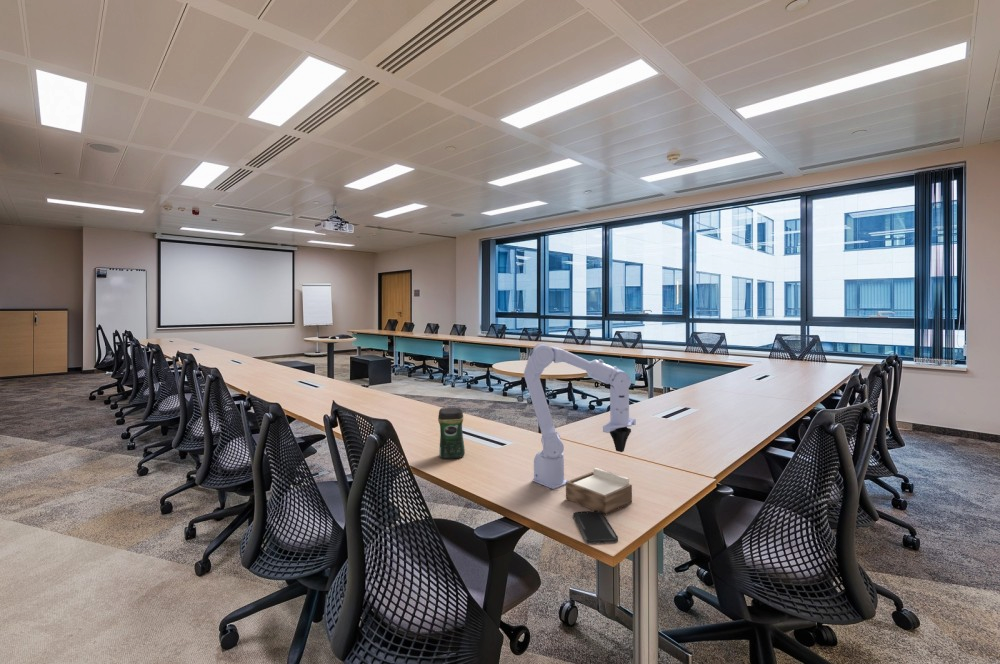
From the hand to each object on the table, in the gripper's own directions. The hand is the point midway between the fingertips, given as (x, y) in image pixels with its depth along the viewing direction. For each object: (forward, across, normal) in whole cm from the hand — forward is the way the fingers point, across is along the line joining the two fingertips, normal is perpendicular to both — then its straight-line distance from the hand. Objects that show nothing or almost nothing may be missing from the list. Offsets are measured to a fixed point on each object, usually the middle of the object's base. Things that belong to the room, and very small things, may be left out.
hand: (619, 451), depth 140 cm
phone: (+10, -30, -13) cm, 34 cm away
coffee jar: (+10, -25, +58) cm, 64 cm away
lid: (+6, -15, -4) cm, 17 cm away
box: (+10, -16, -4) cm, 19 cm away
